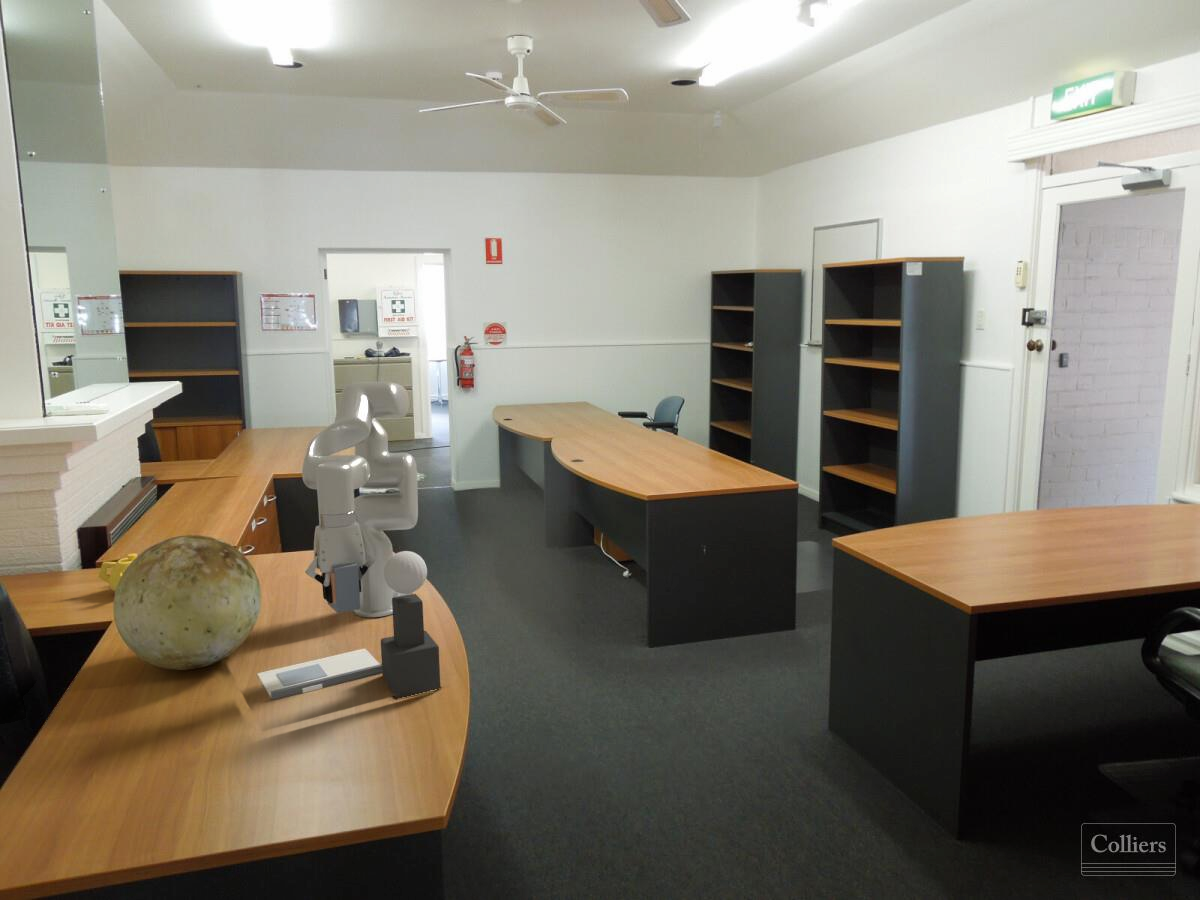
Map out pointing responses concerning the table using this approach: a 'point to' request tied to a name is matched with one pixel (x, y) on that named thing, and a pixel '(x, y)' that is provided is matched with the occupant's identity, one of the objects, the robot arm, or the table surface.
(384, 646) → the sculpture
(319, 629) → the table surface
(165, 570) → the speckled stone ball
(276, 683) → the shelf board
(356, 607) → the box
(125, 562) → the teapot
